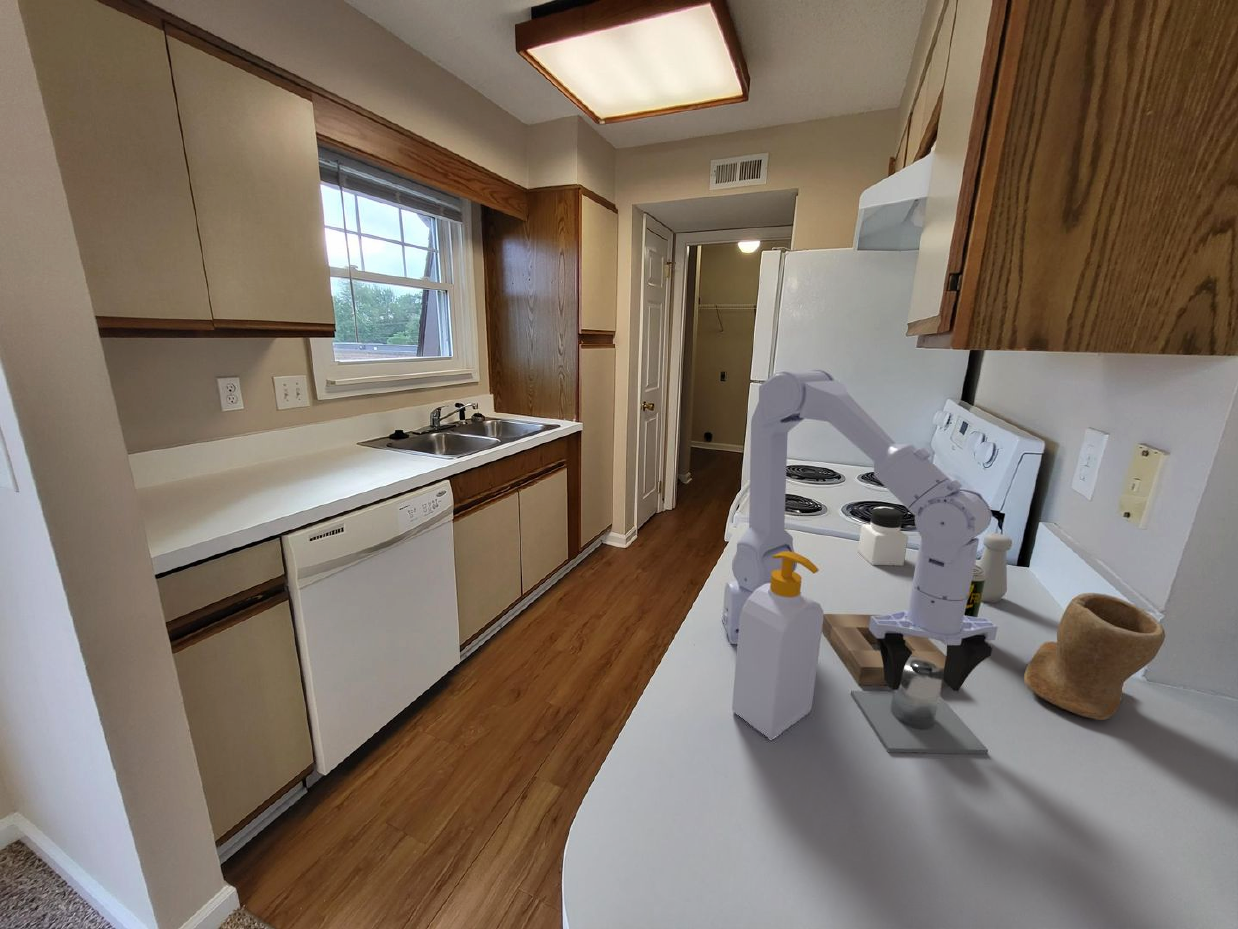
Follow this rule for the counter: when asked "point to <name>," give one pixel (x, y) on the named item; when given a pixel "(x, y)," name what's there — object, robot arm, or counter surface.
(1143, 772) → the counter surface
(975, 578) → the green soda can
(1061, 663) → the tan boot
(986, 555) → the salt shaker
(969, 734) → the rubber mat
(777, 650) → the soap bottle
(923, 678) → the grey round-capped cylinder
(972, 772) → the counter surface
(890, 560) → the medicine bottle
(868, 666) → the bore block
